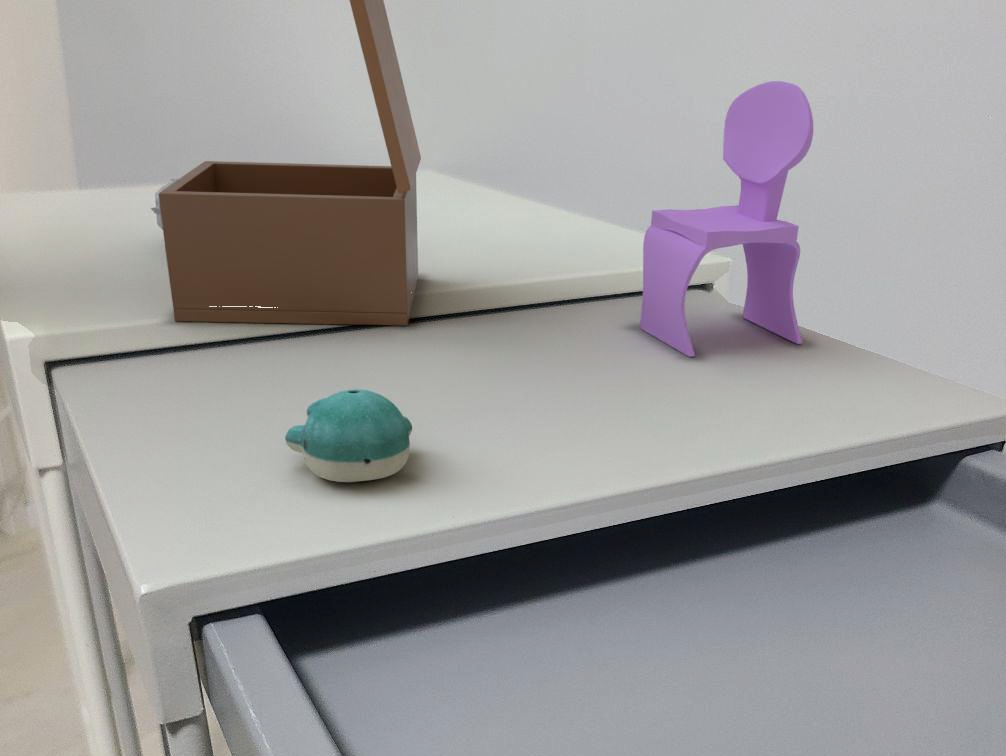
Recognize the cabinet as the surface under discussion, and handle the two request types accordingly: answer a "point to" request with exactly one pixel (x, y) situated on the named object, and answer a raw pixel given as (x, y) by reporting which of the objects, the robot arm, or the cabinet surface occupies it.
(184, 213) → the brown open rectangular box
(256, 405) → the cabinet surface
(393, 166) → the lid
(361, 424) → the whale figurine
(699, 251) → the toy chair
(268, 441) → the cabinet surface
